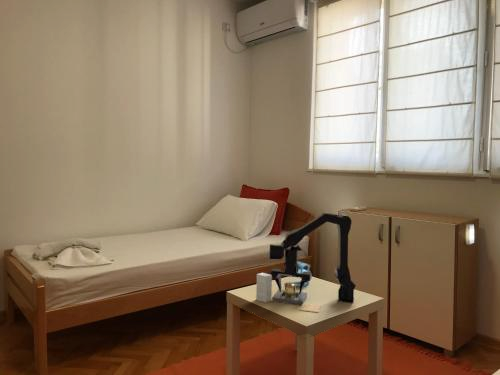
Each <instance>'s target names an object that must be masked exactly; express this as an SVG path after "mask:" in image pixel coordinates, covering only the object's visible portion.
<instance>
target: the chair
mask: <svg viewBox="0 0 500 375" xmlns="http://www.w3.org/2000/svg"><path fill="white" fill-rule="evenodd" d="M297 264H298V265H299V271H298V272H297V273H303V271H304V272H311V271H310V268H311V264H308V263H305V262H302V261H297ZM305 267H307V270H306V269H305ZM300 281H301V280H299V281H291V282H292V283H296V287H298V288H300ZM308 285H310V281H308V282H307V283H305V284H304V286H303V287H306V286H308Z"/></svg>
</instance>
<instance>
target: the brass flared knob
mask: <svg viewBox="0 0 500 375" xmlns="http://www.w3.org/2000/svg"><path fill="white" fill-rule="evenodd" d="M292 282H293V281H291V282H290V281H289V282H284V284H283V285H284V290H285V295H284V297H286V298H294V299H297V297H296V292H297V291H296V290H297V286H296V284H297V283H292Z"/></svg>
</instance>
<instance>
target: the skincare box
mask: <svg viewBox="0 0 500 375" xmlns="http://www.w3.org/2000/svg"><path fill="white" fill-rule="evenodd" d="M272 280H273V277H272V275H270V273H269V274H268V273H266V272H261V273H257V274H256V287H255V288H256V290H255V291H256V294H255V295H256V296H255V297H256V298H255V300H257V301H260V302H262V303H265V304H266V303H269V302H271V301H272V297H273V296H272V294H273V293H272V291H273V290H272V284H273V281H272Z"/></svg>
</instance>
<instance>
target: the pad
mask: <svg viewBox="0 0 500 375" xmlns="http://www.w3.org/2000/svg"><path fill="white" fill-rule="evenodd" d="M300 306H301V307H300V308H299V311H302V312H309V313H310V312H311V313H317V314H319V312H320V310H321V309H322V305H321V304H319V305H318V304H311V303H305V302H304V303H303V305H300Z"/></svg>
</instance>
